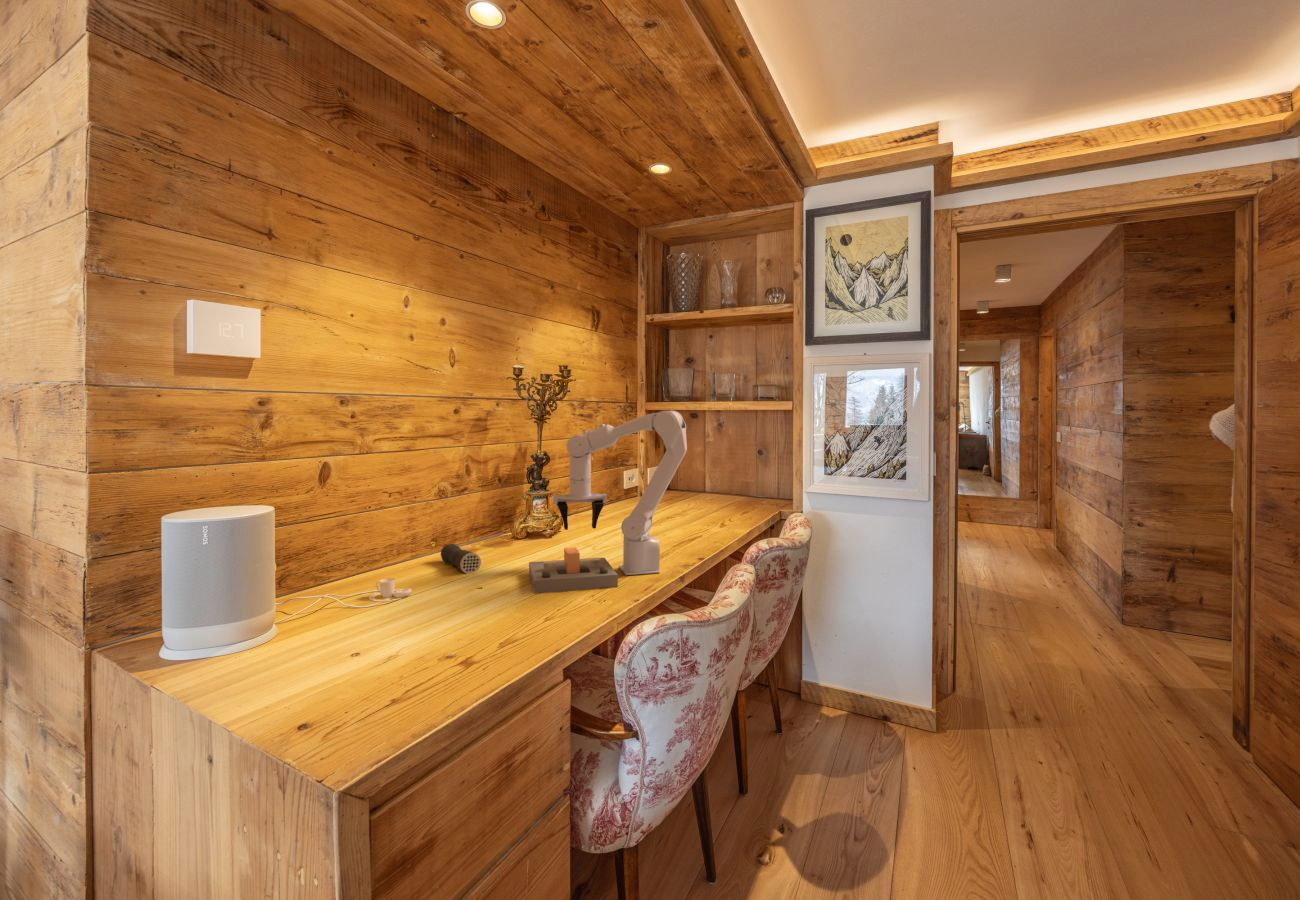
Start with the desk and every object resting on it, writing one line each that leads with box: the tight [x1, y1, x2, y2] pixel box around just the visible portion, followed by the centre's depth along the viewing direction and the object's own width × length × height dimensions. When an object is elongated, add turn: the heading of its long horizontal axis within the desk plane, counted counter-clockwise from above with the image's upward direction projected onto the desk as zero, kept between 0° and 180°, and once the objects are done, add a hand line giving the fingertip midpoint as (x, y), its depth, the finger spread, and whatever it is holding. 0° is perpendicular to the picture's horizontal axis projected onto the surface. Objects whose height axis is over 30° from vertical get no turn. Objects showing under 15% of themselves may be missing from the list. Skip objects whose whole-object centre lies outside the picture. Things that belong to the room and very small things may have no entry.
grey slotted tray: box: [528, 557, 619, 594], centre depth 143 cm, size 20×16×5 cm
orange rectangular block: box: [563, 546, 581, 574], centre depth 143 cm, size 3×6×5 cm, turn 16°
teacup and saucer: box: [368, 577, 412, 603], centre depth 129 cm, size 9×8×4 cm
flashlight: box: [440, 543, 482, 575], centre depth 153 cm, size 15×5×5 cm, turn 41°
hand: (580, 528), depth 155 cm, fingers open, 7 cm apart
